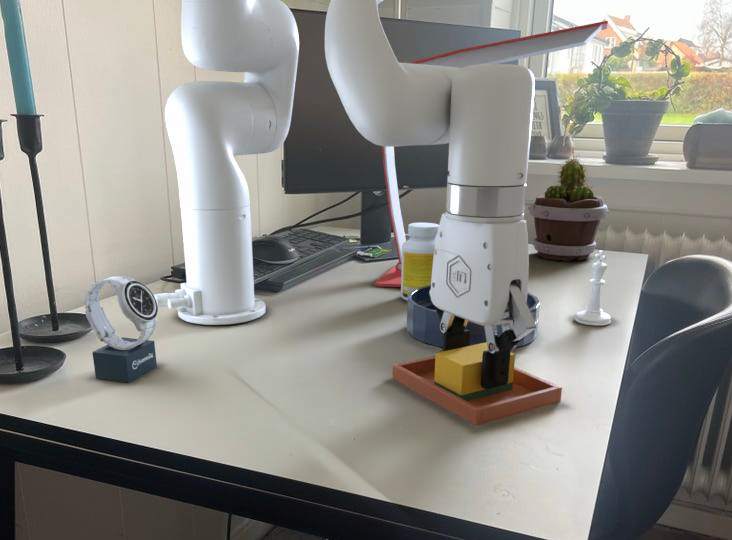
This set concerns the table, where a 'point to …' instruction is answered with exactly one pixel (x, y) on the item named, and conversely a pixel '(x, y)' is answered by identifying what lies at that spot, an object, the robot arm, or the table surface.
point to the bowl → (427, 322)
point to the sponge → (466, 372)
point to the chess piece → (595, 297)
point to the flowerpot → (567, 216)
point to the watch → (123, 354)
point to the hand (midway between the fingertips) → (474, 374)
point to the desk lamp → (468, 57)
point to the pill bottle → (418, 257)
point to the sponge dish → (519, 399)
